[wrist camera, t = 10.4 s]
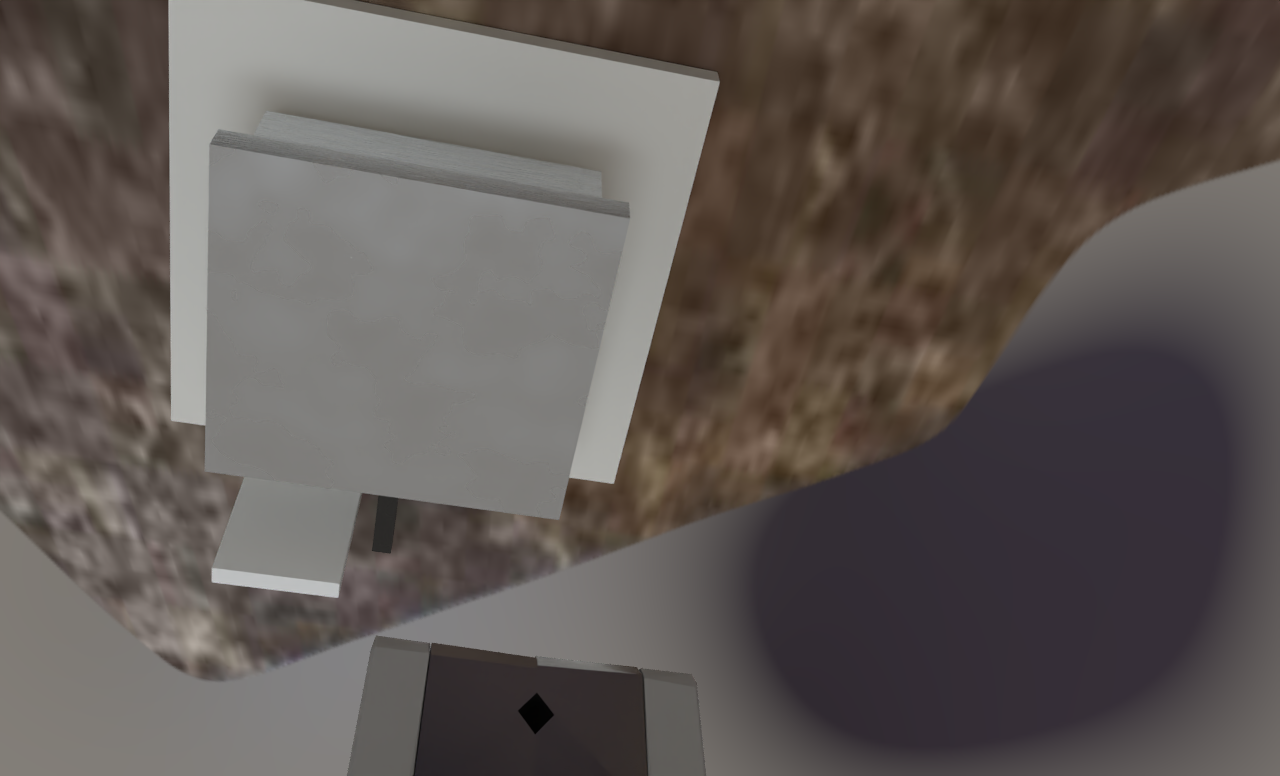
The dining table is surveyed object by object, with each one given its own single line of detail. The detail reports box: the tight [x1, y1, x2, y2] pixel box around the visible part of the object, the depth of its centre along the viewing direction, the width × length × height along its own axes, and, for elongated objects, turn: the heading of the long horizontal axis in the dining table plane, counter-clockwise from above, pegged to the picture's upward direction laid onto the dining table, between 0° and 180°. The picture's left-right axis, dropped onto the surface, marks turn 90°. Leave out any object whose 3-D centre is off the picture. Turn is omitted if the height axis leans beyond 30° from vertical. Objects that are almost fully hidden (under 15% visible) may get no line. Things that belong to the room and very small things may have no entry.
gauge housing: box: [169, 0, 720, 598], centre depth 48 cm, size 20×22×9 cm
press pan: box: [205, 111, 630, 553], centre depth 48 cm, size 14×19×5 cm
